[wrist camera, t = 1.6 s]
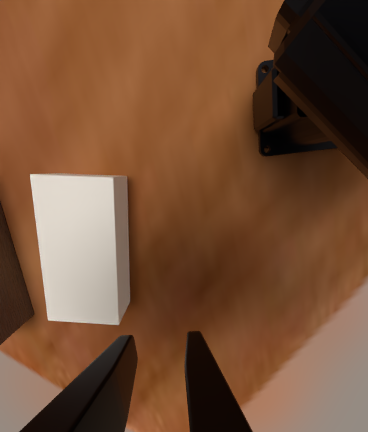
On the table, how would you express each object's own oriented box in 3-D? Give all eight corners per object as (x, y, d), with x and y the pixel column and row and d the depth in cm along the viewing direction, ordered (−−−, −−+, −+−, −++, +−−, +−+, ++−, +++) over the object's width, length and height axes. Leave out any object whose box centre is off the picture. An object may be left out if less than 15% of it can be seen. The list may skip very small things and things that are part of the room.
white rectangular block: (128, 175, 18) (113, 177, 15) (131, 299, 21) (118, 325, 17) (60, 173, 18) (29, 174, 15) (71, 295, 21) (48, 320, 18)
